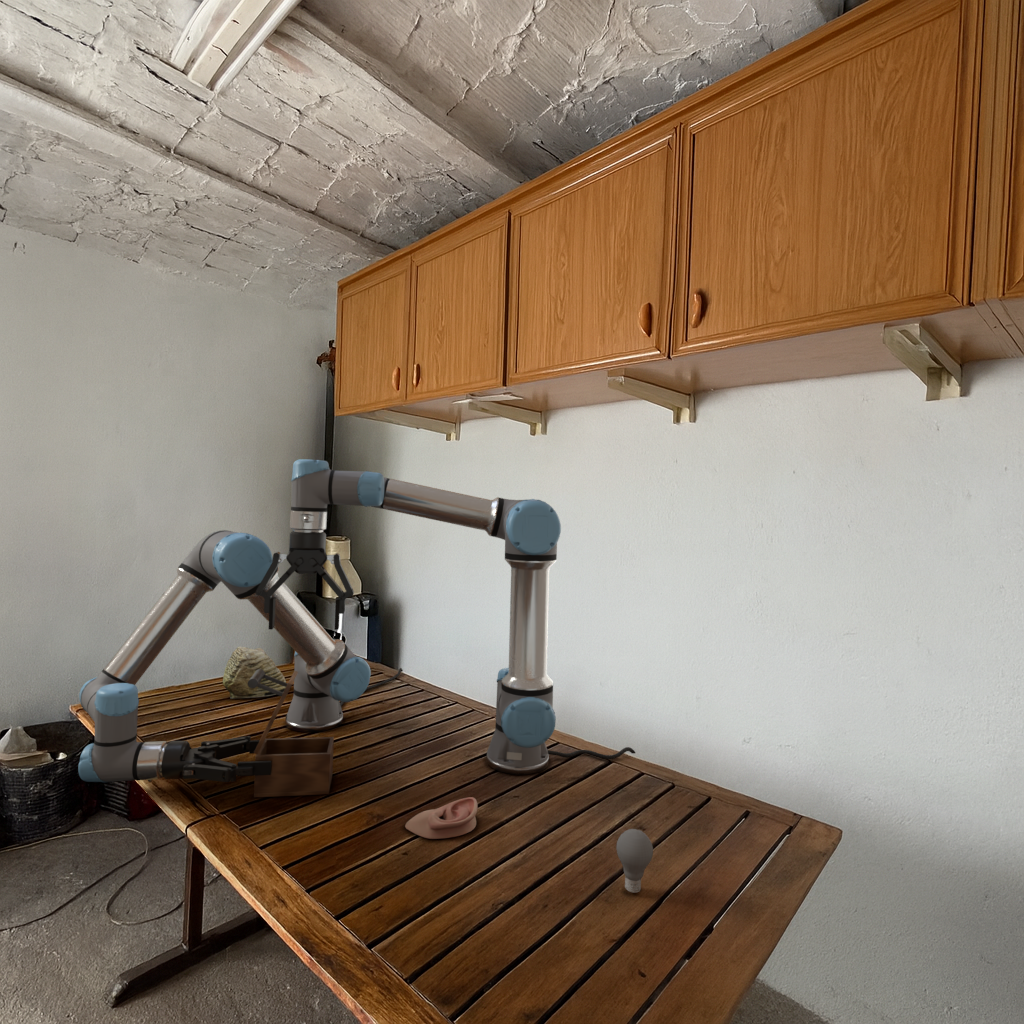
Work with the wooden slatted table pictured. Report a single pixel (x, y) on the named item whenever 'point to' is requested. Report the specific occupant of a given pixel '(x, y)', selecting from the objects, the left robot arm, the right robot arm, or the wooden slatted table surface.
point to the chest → (295, 767)
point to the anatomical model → (445, 820)
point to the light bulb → (634, 857)
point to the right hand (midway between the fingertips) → (304, 628)
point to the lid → (255, 683)
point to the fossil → (250, 673)
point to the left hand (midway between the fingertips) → (276, 756)
